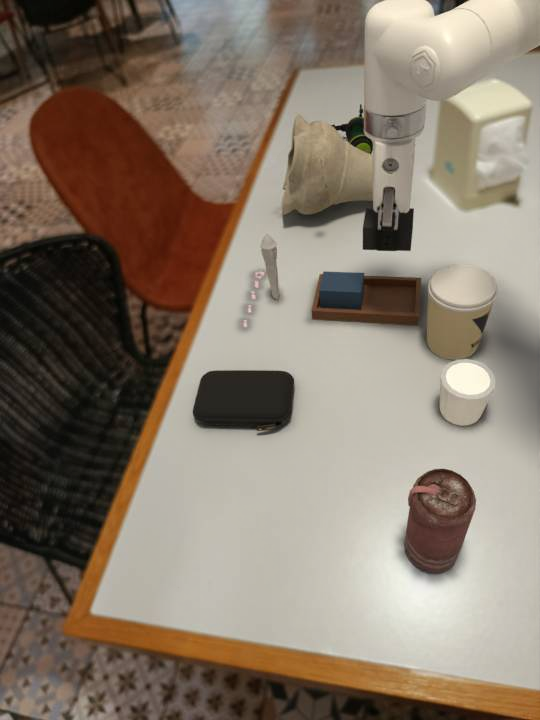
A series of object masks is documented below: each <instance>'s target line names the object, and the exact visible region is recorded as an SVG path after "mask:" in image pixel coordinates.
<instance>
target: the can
mask: <svg viewBox="0 0 540 720" xmlns="http://www.w3.org/2000/svg"><path fill="white" fill-rule="evenodd" d="M407 504H408V507H409V509H408V517H407V522H406V529H405V536H404V549H405V550H404V551H405V554H406V555H407V557H408V559H409V560H410V562H412V564H413V565H414V566H415V567H417V568H419V569H420V570H422V571H424V572H428V573H432V574H438V573H443V572H446V571H449V570H450V569H451V568H452V567H453V566H454V565H456V562H457V560H458V558H459V555H460V553H461V550H462V547H463V545H464V542H465V539H466V536H467V534H468V531H469V528H470V526H471V525H470V524H471V523H472V520H473V517H474V514H475V511H476V508H477V507H476V505H477V497H476V494H475V491H474V489H473V487H472V486H471V484H470V482H469V481H468V480H467V479H466V478H465V477H464V476H462V474H460V473H458V472H456V471H454V470H452V469H448V468H434V469H431V470H428V471H425V472H424V473H423V474H422V475H420V476H419V477H417V479H416V481H415V482H414V483H413V485H412V488H411V489H410V490H409V493H408V497H407Z"/></svg>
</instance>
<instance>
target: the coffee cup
mask: <svg viewBox="0 0 540 720" xmlns="http://www.w3.org/2000/svg"><path fill="white" fill-rule="evenodd" d="M498 291H499V288H498V283H497V281H496V279H495V278H494V276H493V275H492V274H491V273H490V272H489V271H487V270H486V269H484V268H482V267H480V266H477V265H473V264H469V263H454V264H448V265H446V266H443V267H441V268H439V269H437V271H436V272H434V274H433V275H432V276H431V277H430V279H429V281H428V284H427V294H428V296H427V318H426V342H427V343H426V344H427V346H428V349H430V351H431V352H432V353H433V354H435V355H436V356H438V357H440V358H443V359H446V360H452V361H455V360H460V359H468V358H469V357H471V356H472V355H473V354H475V352H476V351H477V350H478V347H479V345H480V343H481V340H482V336H483V334H484V331H485V328H486V326H487V322H488V320H489V318H490V314H491V313H492V312H491V311H492V308H493V305H494V302H495V301H496V299H497V297H498Z"/></svg>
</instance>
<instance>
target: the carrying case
mask: <svg viewBox="0 0 540 720" xmlns="http://www.w3.org/2000/svg"><path fill="white" fill-rule="evenodd" d="M294 388H295V378H294V376H293V375H292V374H291V373H289V372H288V371H285V370H266V369H265V370H264V369H263V370H262V369H261V370H260V369H259V370H255V369H253V370H252V369H251V370H250V369H245V370H244V369H240V370H237V369H235V370H231V369H230V370H229V369H228V370H227V369H225V370H223V369H222V370H209V371H207V372H205V374H203V375H202V376H201V378H200V380H199V384H198V388H197V392H196V395H195V400H194V404H193V408H192V416H193V418H194V419H195V421H197V422H198V423H200V424H203V425H205V426H242V427H243V426H248V427H250V426H251V427H255V431H257V432H263V431H267V430H272V429H277V427H279V426H282V424H285V423H286V422H287V421H288V420H289V419H290V417H291V415H292V409H293V400H294V391H295V389H294Z"/></svg>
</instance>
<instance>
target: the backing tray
mask: <svg viewBox="0 0 540 720" xmlns="http://www.w3.org/2000/svg"><path fill="white" fill-rule="evenodd" d="M322 275H323V273H319V276H318V280H317V285H316V288H315V292H314V293H315V294H314V298H313V302H312V306H311V309H310V311H311V320H313V321H314V320H317V321H333V322H350V323H351V322H352V323H367V324H368V323H370V324H385V325H386V324H387V325H388V324H389V325H404V326H405V325H407V326H419V324H420V317H421V316H420V315H421V291H422V277H417V276H416V277H411V276H388V275H387V276H385V275H364V294H363V301H362V308H361V310H352V309H332V308H320V297H319V288H320V284H321V280H322Z"/></svg>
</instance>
